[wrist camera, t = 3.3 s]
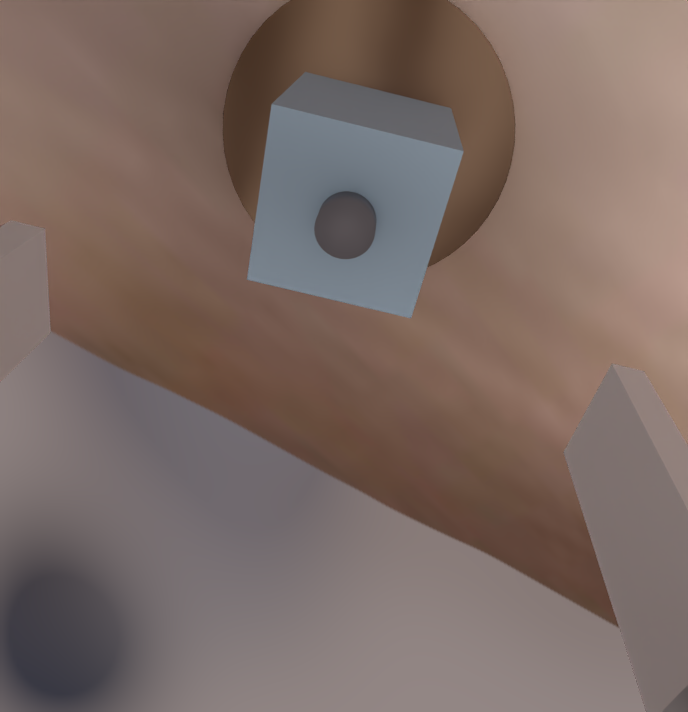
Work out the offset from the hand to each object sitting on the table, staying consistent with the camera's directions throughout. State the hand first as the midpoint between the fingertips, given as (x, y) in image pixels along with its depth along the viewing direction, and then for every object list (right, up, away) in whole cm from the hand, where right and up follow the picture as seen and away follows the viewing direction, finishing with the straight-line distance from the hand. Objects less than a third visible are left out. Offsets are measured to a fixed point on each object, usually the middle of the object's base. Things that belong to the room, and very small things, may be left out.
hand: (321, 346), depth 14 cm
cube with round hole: (+1, +8, +13) cm, 15 cm away
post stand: (+2, +10, +16) cm, 19 cm away
